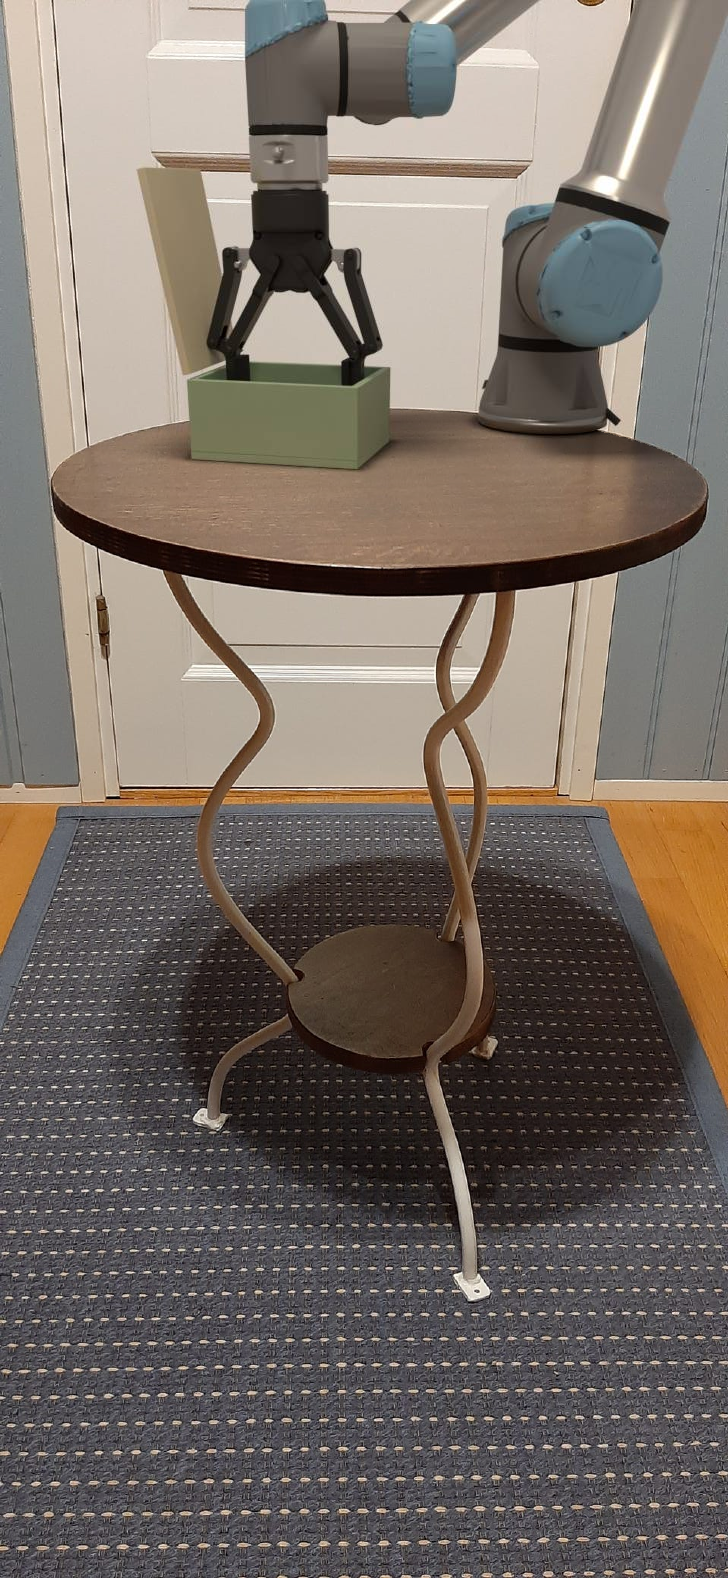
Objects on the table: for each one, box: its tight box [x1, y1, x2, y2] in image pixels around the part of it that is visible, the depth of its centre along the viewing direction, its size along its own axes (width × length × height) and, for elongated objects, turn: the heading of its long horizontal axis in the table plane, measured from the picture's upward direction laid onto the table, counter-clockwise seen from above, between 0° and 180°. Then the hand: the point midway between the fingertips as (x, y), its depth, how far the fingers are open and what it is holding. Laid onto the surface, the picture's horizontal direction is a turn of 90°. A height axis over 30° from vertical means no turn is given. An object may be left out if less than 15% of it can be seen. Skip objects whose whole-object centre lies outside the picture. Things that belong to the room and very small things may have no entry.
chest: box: [186, 360, 391, 470], centre depth 121 cm, size 18×15×8 cm
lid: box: [136, 166, 234, 376], centre depth 117 cm, size 18×15×1 cm
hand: (296, 423), depth 121 cm, fingers open, 11 cm apart
